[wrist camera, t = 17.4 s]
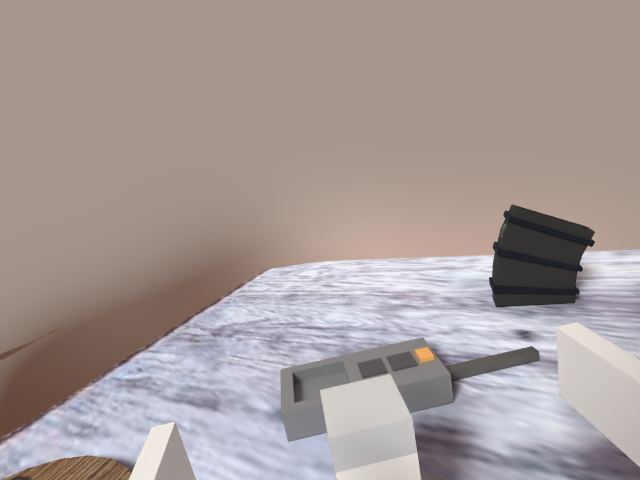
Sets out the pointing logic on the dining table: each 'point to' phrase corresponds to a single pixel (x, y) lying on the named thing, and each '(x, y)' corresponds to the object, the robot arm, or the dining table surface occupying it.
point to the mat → (428, 476)
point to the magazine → (537, 259)
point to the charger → (370, 431)
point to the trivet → (75, 470)
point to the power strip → (396, 359)
